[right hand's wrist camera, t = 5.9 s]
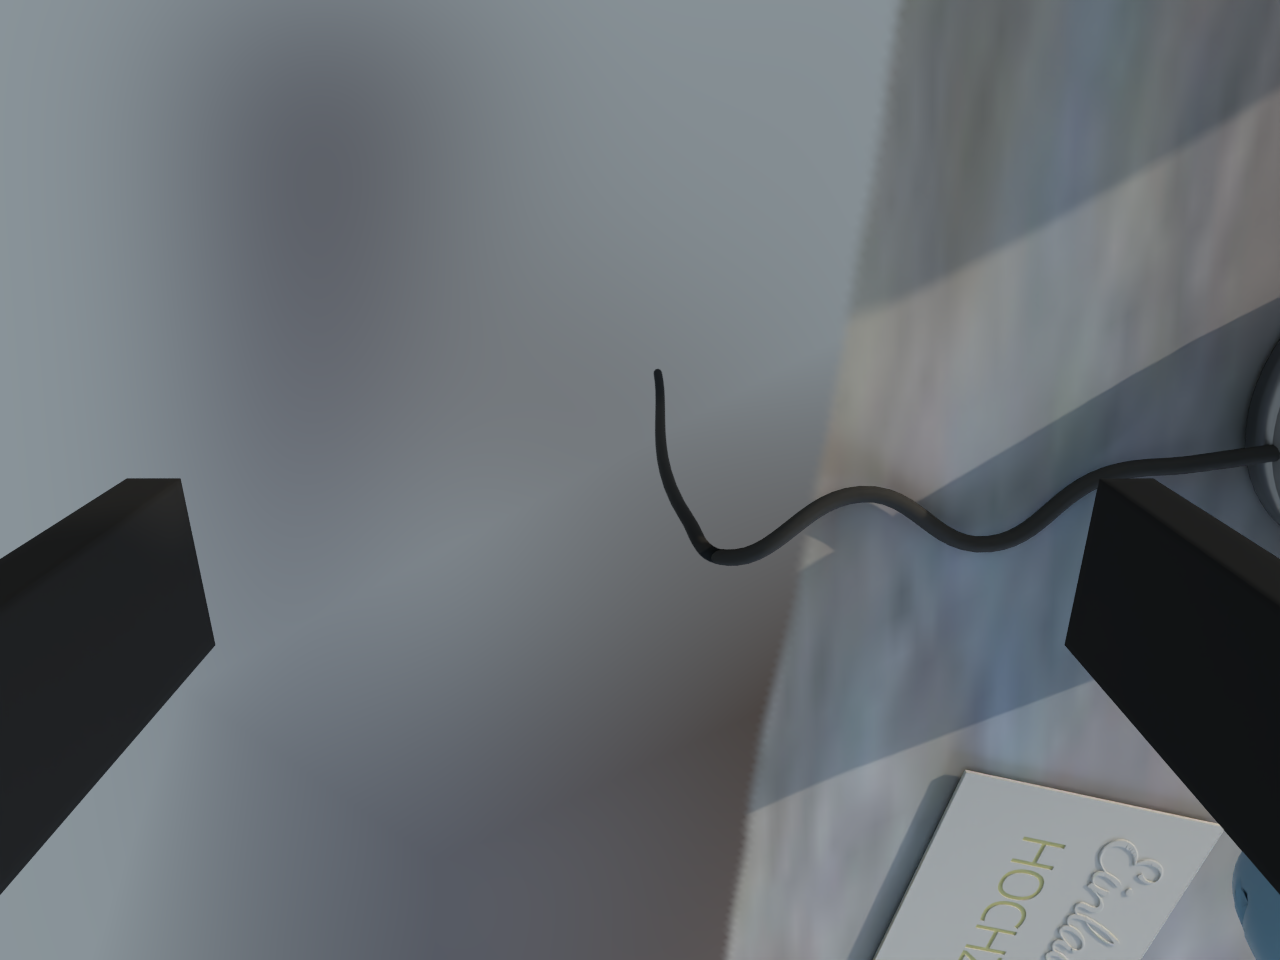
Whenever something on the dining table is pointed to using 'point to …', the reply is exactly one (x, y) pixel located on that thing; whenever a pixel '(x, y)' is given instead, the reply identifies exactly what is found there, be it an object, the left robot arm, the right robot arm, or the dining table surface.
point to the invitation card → (1044, 876)
